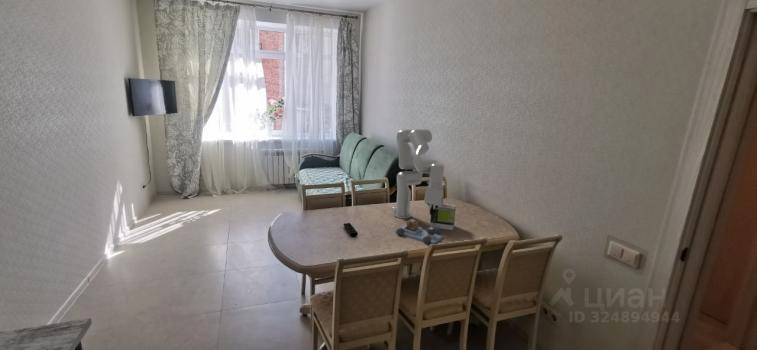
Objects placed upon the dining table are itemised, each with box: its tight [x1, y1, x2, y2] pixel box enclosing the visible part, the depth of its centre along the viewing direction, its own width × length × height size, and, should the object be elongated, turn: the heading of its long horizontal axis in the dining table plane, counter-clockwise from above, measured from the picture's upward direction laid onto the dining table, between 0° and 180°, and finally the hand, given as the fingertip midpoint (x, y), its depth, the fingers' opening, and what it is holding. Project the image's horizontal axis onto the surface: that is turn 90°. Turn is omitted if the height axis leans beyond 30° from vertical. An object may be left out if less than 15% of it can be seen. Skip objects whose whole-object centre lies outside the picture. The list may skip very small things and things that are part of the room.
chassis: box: [394, 224, 443, 245], centre depth 216 cm, size 26×16×4 cm, turn 56°
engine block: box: [406, 219, 419, 232], centre depth 218 cm, size 5×5×7 cm
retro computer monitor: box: [429, 202, 457, 231], centre depth 230 cm, size 15×10×15 cm, turn 74°
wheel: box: [426, 226, 437, 235], centre depth 211 cm, size 5×5×5 cm
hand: (432, 214), depth 209 cm, fingers closed
